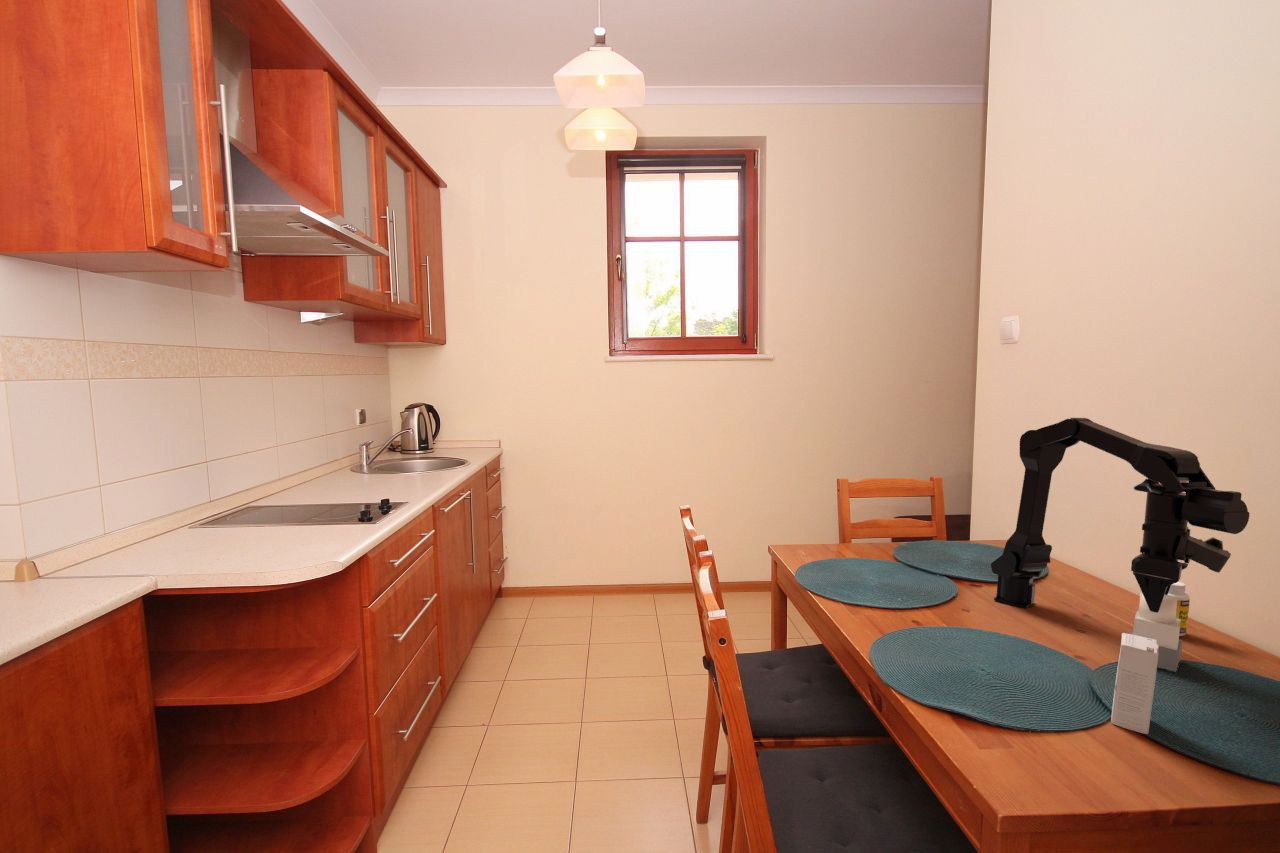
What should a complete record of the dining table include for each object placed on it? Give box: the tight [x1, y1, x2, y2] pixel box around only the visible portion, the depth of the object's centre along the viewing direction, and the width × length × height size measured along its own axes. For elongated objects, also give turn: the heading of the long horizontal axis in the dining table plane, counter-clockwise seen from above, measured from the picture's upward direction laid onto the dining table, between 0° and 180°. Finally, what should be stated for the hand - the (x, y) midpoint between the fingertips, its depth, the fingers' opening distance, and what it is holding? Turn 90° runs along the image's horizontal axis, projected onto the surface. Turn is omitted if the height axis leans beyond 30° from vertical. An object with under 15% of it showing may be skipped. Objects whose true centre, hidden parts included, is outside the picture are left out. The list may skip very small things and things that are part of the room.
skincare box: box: [1110, 632, 1159, 735], centre depth 86 cm, size 6×4×12 cm
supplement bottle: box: [1168, 581, 1191, 637], centre depth 121 cm, size 6×6×10 cm
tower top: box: [1132, 609, 1181, 650], centre depth 107 cm, size 6×6×4 cm
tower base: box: [1128, 628, 1183, 671], centre depth 108 cm, size 7×7×4 cm
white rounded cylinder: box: [1138, 591, 1177, 624], centre depth 107 cm, size 5×5×4 cm
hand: (1157, 605), depth 107 cm, fingers open, 9 cm apart
